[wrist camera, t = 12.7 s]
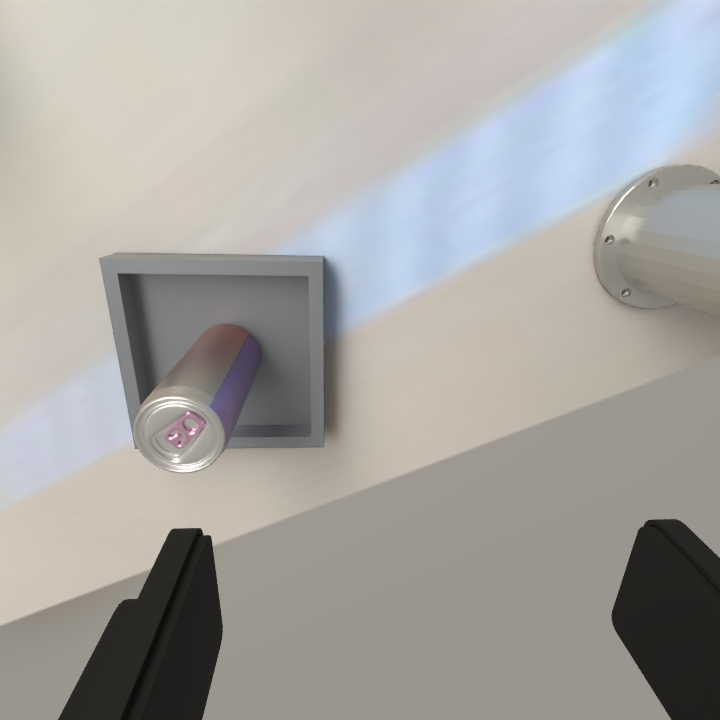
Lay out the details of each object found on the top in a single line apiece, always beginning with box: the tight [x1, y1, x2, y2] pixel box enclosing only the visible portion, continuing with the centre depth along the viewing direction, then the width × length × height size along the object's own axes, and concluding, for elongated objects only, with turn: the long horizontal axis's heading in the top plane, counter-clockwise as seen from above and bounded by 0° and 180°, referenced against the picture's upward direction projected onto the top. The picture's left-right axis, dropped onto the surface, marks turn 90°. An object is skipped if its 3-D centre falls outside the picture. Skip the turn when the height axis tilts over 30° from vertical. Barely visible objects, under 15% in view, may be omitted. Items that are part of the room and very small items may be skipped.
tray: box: [99, 253, 325, 449], centre depth 41 cm, size 18×18×3 cm
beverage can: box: [133, 324, 261, 473], centre depth 35 cm, size 6×6×15 cm
